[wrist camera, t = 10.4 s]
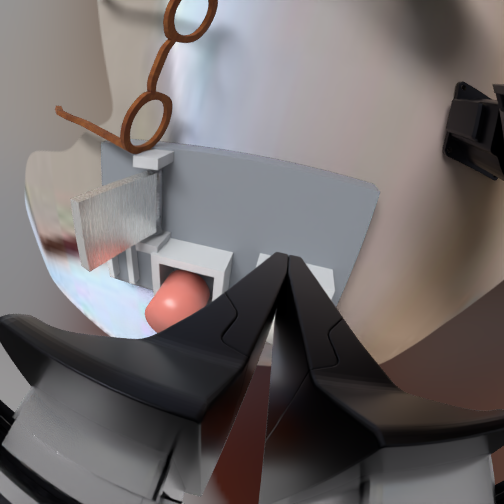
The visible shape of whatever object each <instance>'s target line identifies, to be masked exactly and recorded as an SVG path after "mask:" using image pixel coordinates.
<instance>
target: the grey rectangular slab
mask: <svg viewBox="0 0 504 504" xmlns="http://www.w3.org/2000/svg"><path fill="white" fill-rule="evenodd" d="M162 185H163V167H162V168H161V169H159V170H153V169H147V171H145V172H142V173H138V174H135V175H132V176H129V177H126V178H124V179H121V180H118V181H115V182H112V183H109V184H107V185H104V186H101V187H99V188H96V189H93V190H91V191H88V192H86V193H83V194H80V195H78V196H76V197H73V198H71V207H72V214H73V221H74V228H75V234H76V240H77V245H78V250H79V255H80V260H81V265H82V266H83V267H84V268H85V269H87V270H88V271H89V272H90V271H92V270H93V269H95V268H97V267H98V266H100V265H102V264H103V263H105V262H106V261H108V260H110V259H111V258H113V257H115V256H116V255H118V254H120V253H121V252H123V251H125V250H126V249H128V248H130V247H131V246H133V245H135V244H137V243H138V242H140V241H142V240H143V239H145V238H147V237H149V236H150V235H156V234H160V233H161V232H162Z"/></svg>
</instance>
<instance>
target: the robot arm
mask: <svg viewBox="0 0 504 504" xmlns="http://www.w3.org/2000/svg"><path fill="white" fill-rule="evenodd" d="M462 85H463V87H464V90H462V88H461V86H462ZM492 85H493V89H494V93H496V96H497V100H492V99H491V98H489V97H488V96H486V95H484V94H483V93H481V92H480V91H478V90H477V89H475V88H473V87H472V86H470V85H468V84H467V83H465V82H458V83H457V86H456V92H455V97H454V100H452V105H451V109H450V114H449V119H448V123H447V127H446V128H447V134H446V138H445V142H444V145H443V153H444V154H445V155H446V156H448V157H450V158H452V159H454V160H457V161H459V162H461V163H463V164H465V165H467V166H469V167H471V168H473V169H474V170H476V171H478V172H480V173H482V174H484V175H486V176H487V177H489V178H491V179H493V180H497V179H498V178H500V179H502V180H503V181H504V84H492ZM448 148H450V152H449V153H448V152H447V149H448ZM493 175H494V176H493ZM274 317H275V320H274ZM273 320H274V334H273V349H272V364H271V378H270V392H269V405H268V416H267V428H266V438H265V448H264V459H263V468H262V479H261V488H260V496H259V504H504V481H502V482H500V483H498V484H496V485H495V483H494V474H493V467H492V461H491V454H492V453H494V452H495V451H497V450H498V449H499V448H501V447H502V446H504V410H502V409H497V410H491V411H479V410H470V409H465V408H461V407H456V406H452V405H448V404H444V403H440V402H436V401H432V400H428V399H425V398H421V397H418V396H414V395H411V394H408V393H406V392H404V391H402V390H401V389H400V388H398V387H397V386H396V385H395V384H394V383H393V382H392V381H391V380H390V378H389V377H388V376H387V375H386V373H385V372H384V371H383V370H382V369H381V367H380V366H379V365H378V364H377V362H376V361H375V360H374V359H373V358H372V356H371V355H370V354H369V353H368V351H367V350H366V349H365V348H364V346H363V345H362V344H361V343H360V341H359V340H358V339H357V337H356V336H355V334H354V333H353V332H352V330H351V329H350V327H349V326H348V324H347V323H346V321H345V320H344V319H343V317H342V316H341V314H340V313H339V311H338V310H337V308H336V307H335V305H334V304H333V302H332V301H331V299H330V298H329V296H328V295H327V293H326V292H325V291H324V289H323V288H322V286H321V285H320V283H319V282H318V280H317V279H316V278H315V276H314V275H313V273H312V272H311V270H310V269H309V268H308V266H307V265H306V263H305V262H304V260H303V259H302V258H301V257H299V256H294V255H289V256H288V254H286V253H281V252H275V253H274V254H273V255H271V256H270V257H269V258H268V259H266V260H265V261H264V262H262V263H261V264H260V265H259V266H257V267H256V268H255V269H254V270H252V271H251V272H250V273H248V274H247V275H246V276H245V277H243V278H242V279H241V280H240V281H238V282H237V283H236V284H234V285H233V286H232V287H231V288H229V289H228V290H227V291H225V292H224V293H223V294H221V295H220V296H219V297H218V298H216V299H215V300H213V301H212V302H211V303H209V304H208V305H206V306H205V307H203V308H202V309H200V310H198V311H197V312H195V313H193V314H192V315H190V316H188V317H186V318H185V319H183V320H181V321H179V322H177V323H176V324H174V325H172V326H170V327H168V328H166V329H165V330H163V331H161V332H159V333H157V334H155V335H153V336H150V337H147V338H143V339H127V338H116V337H105V336H96V335H88V334H80V333H74V332H69V331H64V330H61V329H58V328H55V327H52V326H50V325H48V324H46V323H44V322H42V321H41V320H39V319H37V318H35V317H33V316H30V315H22V314H8V315H4V316H1V317H0V342H1V344H2V346H3V347H4V349H5V350H6V352H7V353H8V355H9V356H10V358H11V359H12V361H13V362H14V364H15V365H16V367H17V368H18V369H19V371H20V372H21V373H22V375H23V376H24V377H25V379H26V380H27V381H28V383H29V384H30V385H31V388H30V390H29V392H28V393H27V395H26V396H25V397H24V399H23V401H22V402H21V404H20V405H19V407H18V408H17V410H16V412H13V411H12V410H11V409H10V408H9V407H8V406H7V405H5V404H4V403H3V402H2V401H1V400H0V504H184V503H183V502H182V499H183V496H184V492H186V493H190V494H193V495H197V496H202V494H203V491H204V489H205V487H206V485H207V483H208V480H209V479H210V476H211V474H212V472H213V470H214V468H215V465H216V463H217V461H218V458H219V456H220V454H221V452H222V449H223V447H224V445H225V442H226V440H227V438H228V435H229V433H230V430H231V428H232V426H233V423H234V421H235V419H236V416H237V414H238V411H239V409H240V406H241V404H242V402H243V399H244V397H245V394H246V392H247V389H248V387H249V384H250V381H251V379H252V376H253V374H254V371H255V368H256V366H257V363H258V361H259V358H260V356H261V353H262V350H263V348H264V345H265V342H266V339H267V337H268V334H269V331H270V329H271V326H272V323H273Z"/></svg>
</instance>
